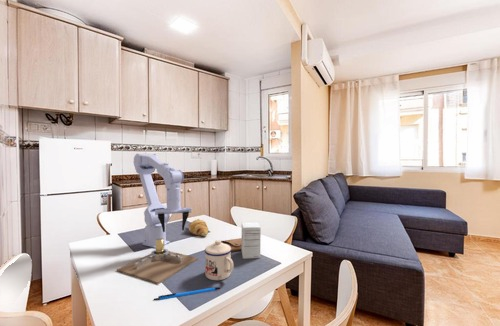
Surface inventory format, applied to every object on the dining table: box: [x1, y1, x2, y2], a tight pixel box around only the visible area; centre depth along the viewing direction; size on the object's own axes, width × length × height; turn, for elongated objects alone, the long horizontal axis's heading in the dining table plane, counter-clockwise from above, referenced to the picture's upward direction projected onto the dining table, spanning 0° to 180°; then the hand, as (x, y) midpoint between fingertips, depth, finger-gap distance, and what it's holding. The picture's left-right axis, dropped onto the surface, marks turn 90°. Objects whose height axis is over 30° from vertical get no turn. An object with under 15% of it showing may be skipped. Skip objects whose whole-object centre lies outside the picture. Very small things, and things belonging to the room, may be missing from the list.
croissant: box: [188, 218, 209, 237], centre depth 125 cm, size 21×10×8 cm, turn 35°
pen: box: [153, 287, 221, 301], centre depth 68 cm, size 1×19×1 cm, turn 108°
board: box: [116, 250, 199, 285], centre depth 86 cm, size 20×20×1 cm
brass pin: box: [155, 238, 165, 254], centre depth 91 cm, size 3×3×7 cm
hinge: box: [135, 248, 182, 269], centre depth 86 cm, size 14×14×2 cm
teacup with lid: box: [204, 239, 235, 281], centre depth 78 cm, size 12×9×12 cm
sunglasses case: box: [220, 237, 242, 254], centre depth 102 cm, size 18×7×7 cm, turn 116°
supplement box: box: [241, 221, 262, 259], centre depth 95 cm, size 7×7×13 cm
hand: (173, 230), depth 98 cm, fingers open, 7 cm apart
